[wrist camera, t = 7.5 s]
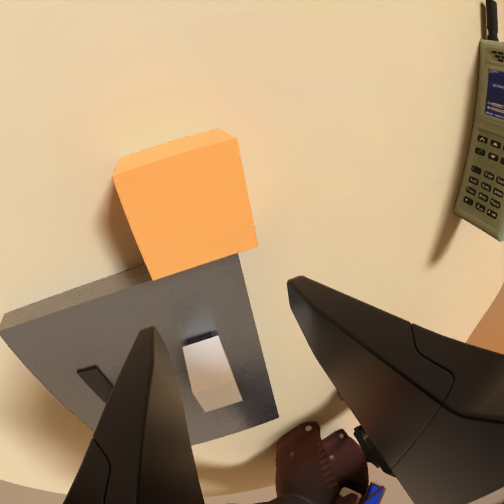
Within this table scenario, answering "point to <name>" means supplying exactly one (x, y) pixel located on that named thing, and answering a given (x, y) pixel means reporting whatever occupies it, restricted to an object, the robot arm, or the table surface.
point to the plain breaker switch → (210, 374)
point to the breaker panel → (126, 330)
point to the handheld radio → (486, 141)
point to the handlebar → (322, 469)
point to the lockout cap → (186, 202)
